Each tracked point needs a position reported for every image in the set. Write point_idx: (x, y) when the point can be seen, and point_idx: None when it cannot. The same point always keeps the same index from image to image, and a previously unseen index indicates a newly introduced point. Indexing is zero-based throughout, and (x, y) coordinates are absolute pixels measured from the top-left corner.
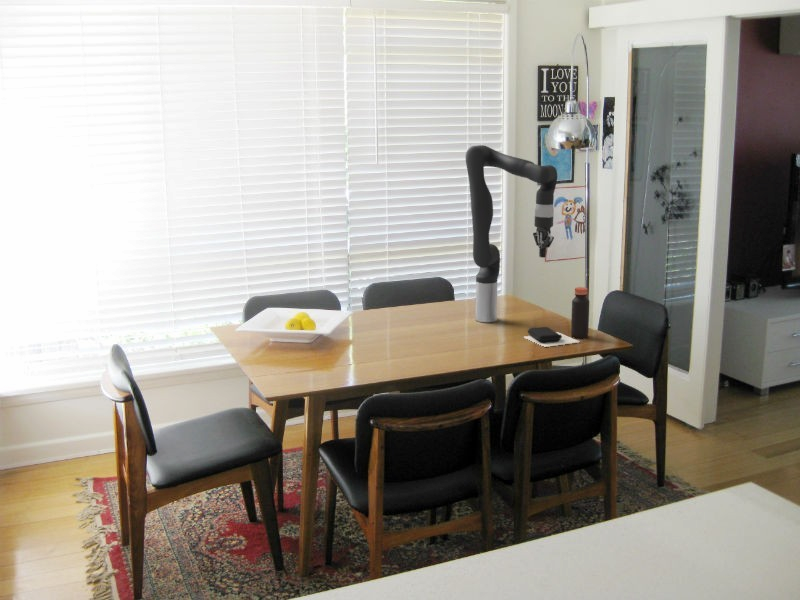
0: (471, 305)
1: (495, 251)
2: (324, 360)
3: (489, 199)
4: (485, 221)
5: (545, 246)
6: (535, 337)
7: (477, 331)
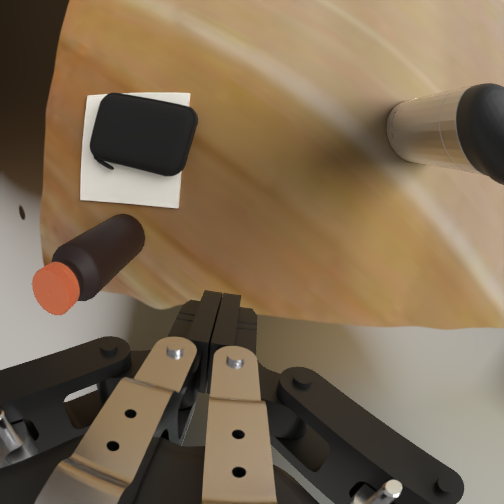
0: None
1: None
2: None
3: None
4: None
5: (86, 352)
6: (130, 95)
7: (324, 30)
